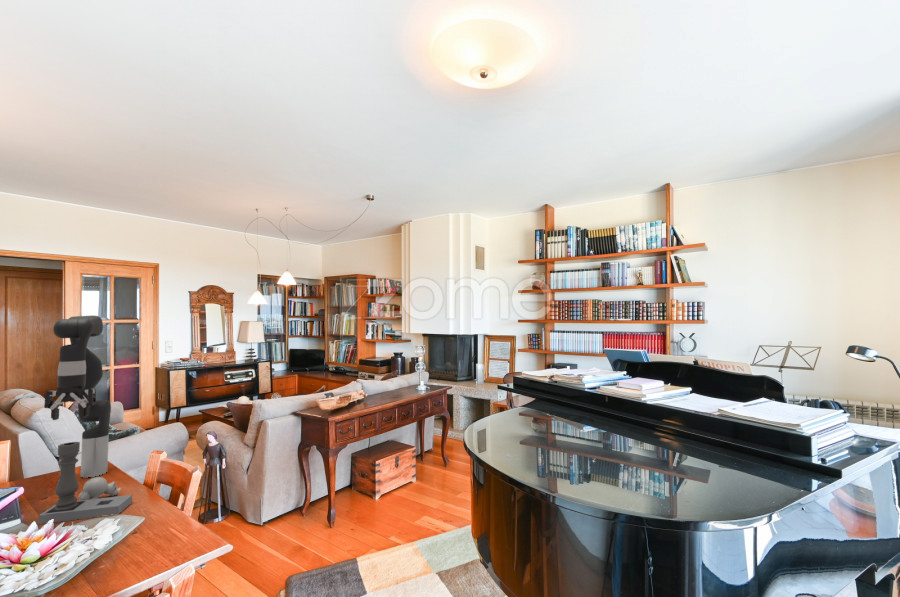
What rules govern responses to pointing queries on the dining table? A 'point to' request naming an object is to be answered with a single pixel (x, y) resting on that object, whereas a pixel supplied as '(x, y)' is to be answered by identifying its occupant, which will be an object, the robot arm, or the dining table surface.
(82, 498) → the toy rhinoceros
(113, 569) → the dining table surface
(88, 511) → the hole board
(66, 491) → the candle holder
